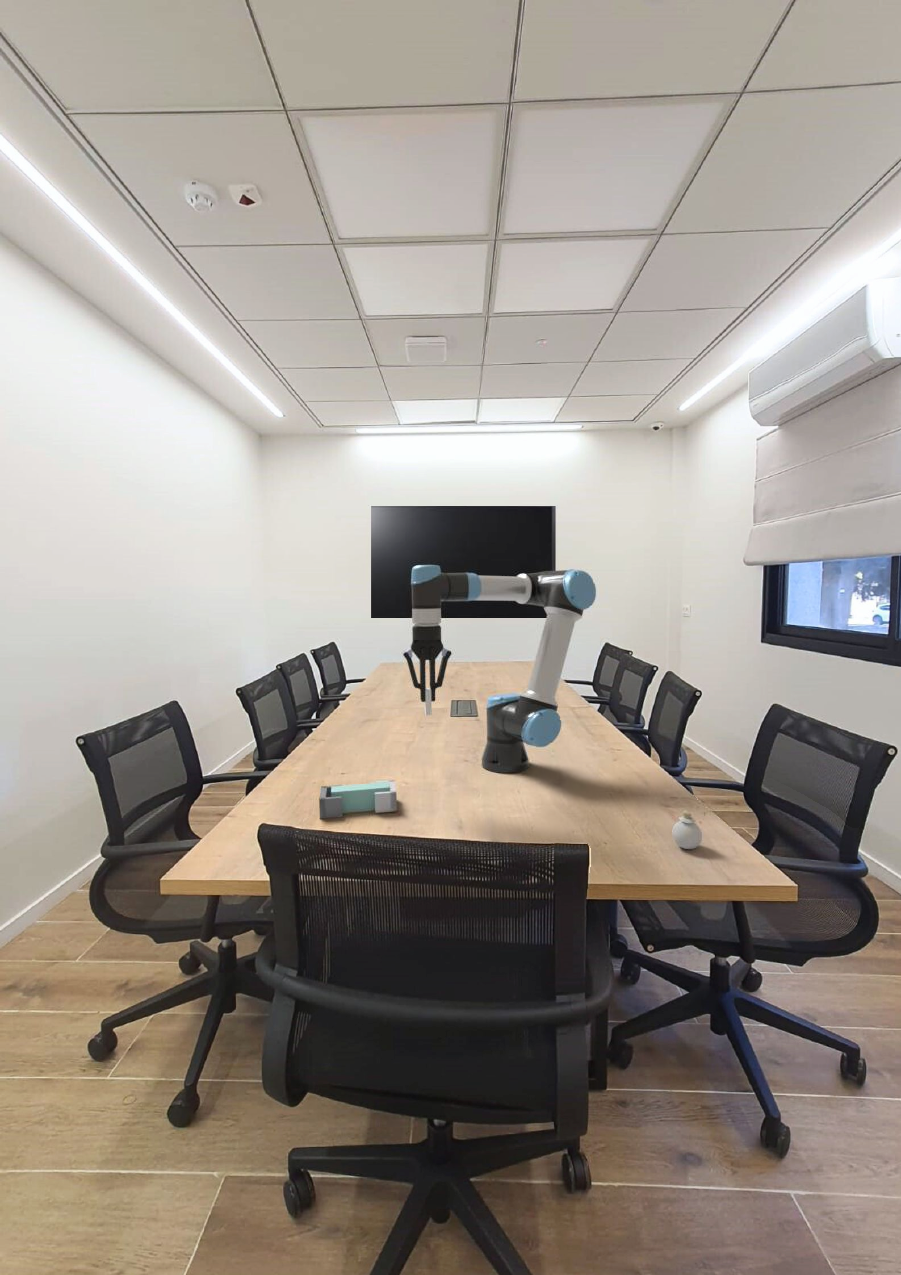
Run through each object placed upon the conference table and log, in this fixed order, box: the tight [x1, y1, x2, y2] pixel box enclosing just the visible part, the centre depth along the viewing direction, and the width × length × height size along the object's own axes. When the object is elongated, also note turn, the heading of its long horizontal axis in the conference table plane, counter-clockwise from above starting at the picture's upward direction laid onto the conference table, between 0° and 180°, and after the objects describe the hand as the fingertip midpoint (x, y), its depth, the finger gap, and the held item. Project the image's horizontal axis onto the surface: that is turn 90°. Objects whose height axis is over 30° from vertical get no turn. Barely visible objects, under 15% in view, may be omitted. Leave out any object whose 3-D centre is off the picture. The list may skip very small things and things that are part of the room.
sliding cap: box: [373, 779, 398, 814], centre depth 143 cm, size 6×9×5 cm, turn 10°
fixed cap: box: [318, 784, 343, 819], centre depth 141 cm, size 6×9×5 cm, turn 10°
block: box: [331, 782, 390, 814], centre depth 142 cm, size 15×4×6 cm, turn 102°
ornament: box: [671, 804, 709, 850], centre depth 119 cm, size 6×7×10 cm
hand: (428, 713), depth 143 cm, fingers closed
